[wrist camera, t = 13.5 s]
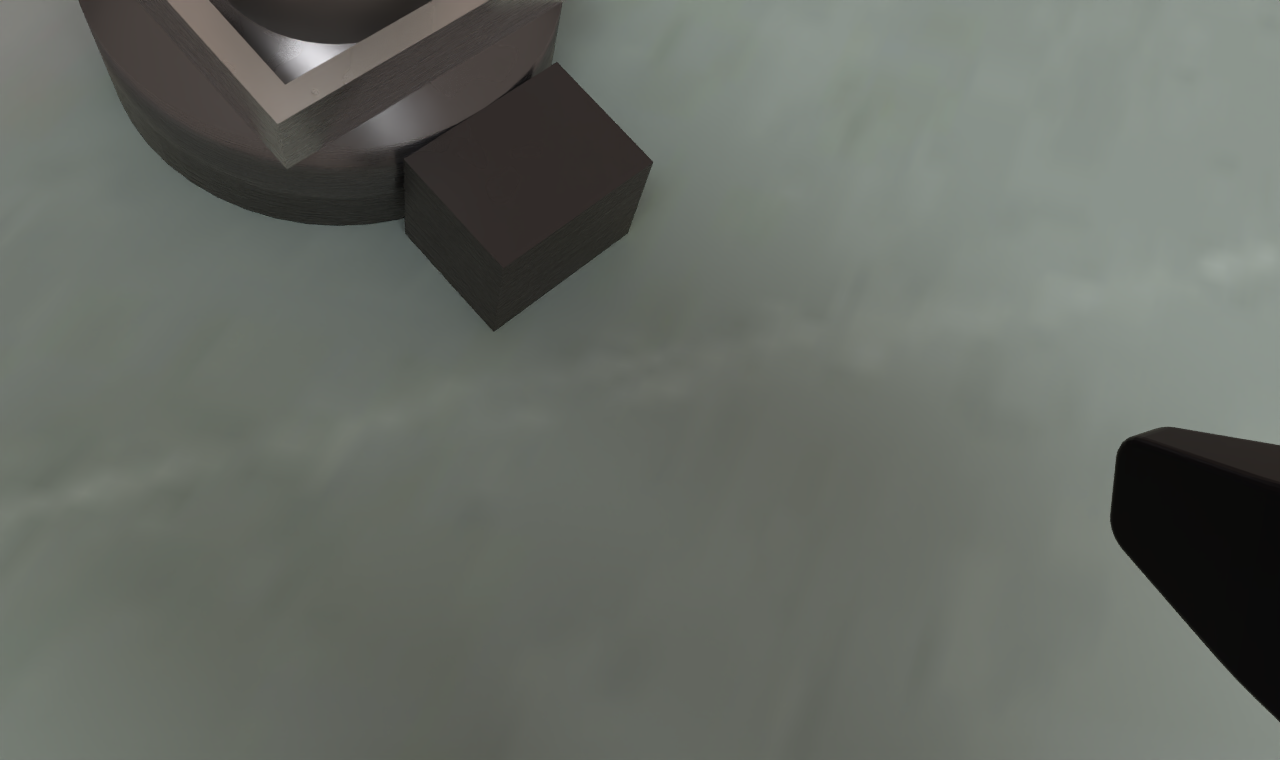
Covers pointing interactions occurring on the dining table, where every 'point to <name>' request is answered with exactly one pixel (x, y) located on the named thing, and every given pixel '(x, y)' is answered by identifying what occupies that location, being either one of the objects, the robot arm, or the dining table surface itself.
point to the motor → (389, 132)
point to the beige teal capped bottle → (326, 17)
